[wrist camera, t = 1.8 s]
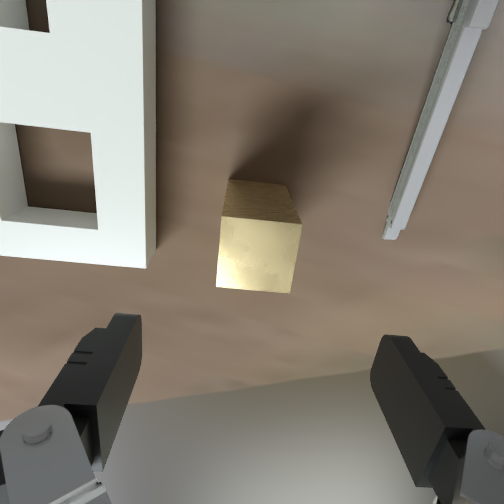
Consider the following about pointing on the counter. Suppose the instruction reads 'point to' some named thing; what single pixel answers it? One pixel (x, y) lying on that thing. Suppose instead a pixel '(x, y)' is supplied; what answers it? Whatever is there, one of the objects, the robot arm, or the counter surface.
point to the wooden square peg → (258, 237)
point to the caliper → (438, 105)
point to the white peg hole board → (82, 126)
